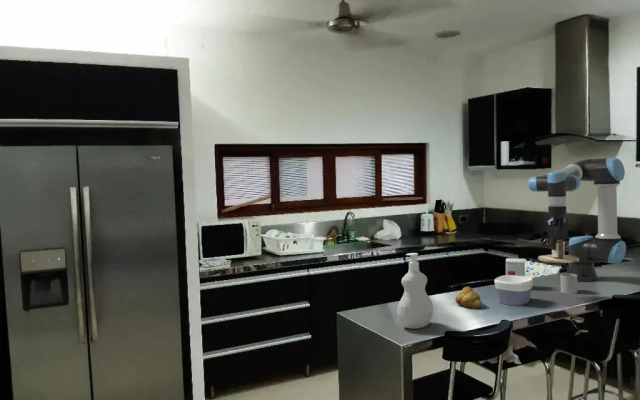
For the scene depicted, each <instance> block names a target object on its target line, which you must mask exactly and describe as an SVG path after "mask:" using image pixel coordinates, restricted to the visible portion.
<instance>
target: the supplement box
mask: <svg viewBox="0 0 640 400" xmlns="http://www.w3.org/2000/svg"><path fill="white" fill-rule="evenodd" d="M505 275H514V276H524V277H526V263H525V258H506V259H505Z"/></svg>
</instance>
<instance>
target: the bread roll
mask: <svg viewBox="0 0 640 400" xmlns="http://www.w3.org/2000/svg"><path fill="white" fill-rule="evenodd" d="M455 302H456V304H457V305H459V306H463V308H473V309H478V308H479V309H480V308H481V307H482V305H483V301H482V300H481V297H480V295H479V293H477V292H476V291H474V290H473V288H472V287H470V286H465V287H464V286H463V288H462V290H461V291H460V292H458V293H456V295H455Z"/></svg>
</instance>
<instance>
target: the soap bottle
mask: <svg viewBox="0 0 640 400" xmlns="http://www.w3.org/2000/svg"><path fill="white" fill-rule="evenodd" d="M405 256H410V262H408V272H407V273H405V275H404V276H403V277H402V279H401V285H402V287H403V289H404V290H403V291H404V292H403V294H402V297H401V298H400V300H399V302H398V304H397V312H396V314H397V317H398V321H399V323H400V324H401V325H402V326H403V327H404V328H406V329H413V330H414V329H415V330H416V329H417V330H418V329H422V328H424V327H426V326H428V325H429V324H430V321H431V320H432V319H433V314H434V306H433V300H432V299H431V298H430V297H429V295H428V293H427V291H426V285H427V283H428V278H427V276H426V275H425V274H424V273H422V272H421V271H420V263H419V261H417V260H418V259H417V256H419V253H417V252H410V253H406V254H405Z"/></svg>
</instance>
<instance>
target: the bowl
mask: <svg viewBox="0 0 640 400" xmlns="http://www.w3.org/2000/svg"><path fill="white" fill-rule="evenodd" d="M493 281H494V286H495V289H496V292H497V297H498V301H499V303H500V304H502V305H507V306H514V307H519V306H522V305H527V304H529V302H530V299H531V298H530V296H531V292H532V290H533V289H532V288H533V285H534V278H532V277H529V276H525V277H524V276H514V275H506V274H505V275H500V276H498V277H496V278H495V279H494V280H493Z"/></svg>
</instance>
